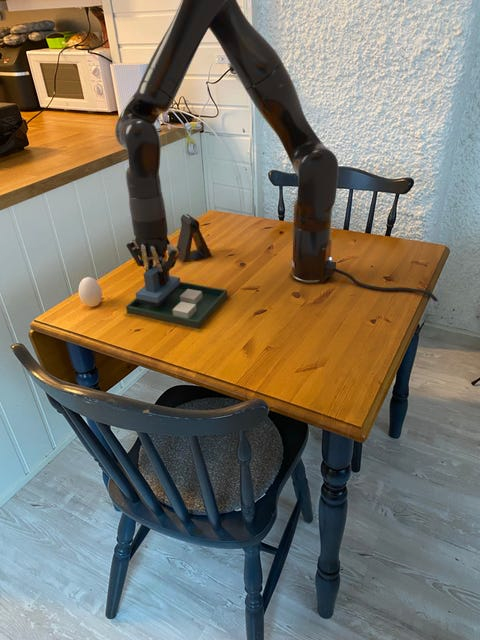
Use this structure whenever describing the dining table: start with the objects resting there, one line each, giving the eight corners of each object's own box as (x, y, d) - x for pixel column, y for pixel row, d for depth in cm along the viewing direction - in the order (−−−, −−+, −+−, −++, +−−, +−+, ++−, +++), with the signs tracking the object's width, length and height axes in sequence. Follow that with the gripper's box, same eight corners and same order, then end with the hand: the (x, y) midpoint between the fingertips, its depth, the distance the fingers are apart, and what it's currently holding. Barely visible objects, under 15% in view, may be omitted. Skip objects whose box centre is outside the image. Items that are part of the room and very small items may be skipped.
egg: (93, 313, 112) (86, 285, 108) (77, 307, 114) (70, 280, 110) (109, 303, 116) (103, 275, 111) (93, 298, 118) (87, 270, 114)
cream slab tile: (196, 310, 110) (195, 304, 109) (188, 319, 107) (187, 312, 106) (181, 307, 112) (181, 301, 111) (173, 316, 108) (172, 309, 108)
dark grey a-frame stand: (183, 264, 132) (178, 223, 126) (175, 256, 137) (170, 217, 130) (211, 256, 136) (208, 217, 129) (202, 249, 140) (199, 210, 134)
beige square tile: (202, 297, 115) (202, 291, 114) (194, 305, 112) (194, 299, 111) (188, 294, 117) (187, 288, 116) (180, 302, 114) (179, 296, 113)
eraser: (181, 286, 116) (178, 260, 113) (158, 306, 108) (154, 280, 105) (160, 282, 119) (156, 257, 115) (136, 302, 111) (132, 275, 107)
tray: (227, 298, 116) (227, 290, 114) (199, 330, 104) (198, 322, 103) (161, 285, 122) (160, 277, 121) (127, 314, 111) (125, 306, 109)
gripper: (111, 216, 102) (125, 285, 112) (166, 223, 97) (175, 296, 107) (131, 205, 108) (142, 272, 117) (184, 211, 103) (191, 281, 112)
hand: (158, 283), depth 112 cm, fingers closed on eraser, 2 cm apart
